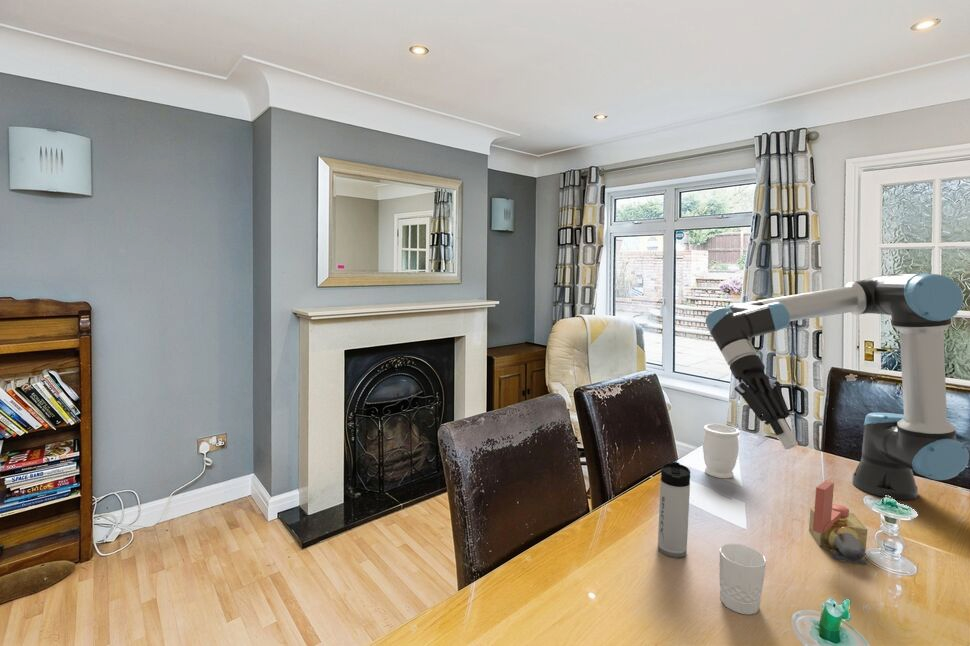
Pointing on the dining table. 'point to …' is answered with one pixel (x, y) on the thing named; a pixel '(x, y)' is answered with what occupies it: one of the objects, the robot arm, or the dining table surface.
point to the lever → (826, 508)
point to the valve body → (843, 538)
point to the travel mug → (674, 510)
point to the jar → (720, 449)
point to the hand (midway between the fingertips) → (791, 446)
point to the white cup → (741, 578)
